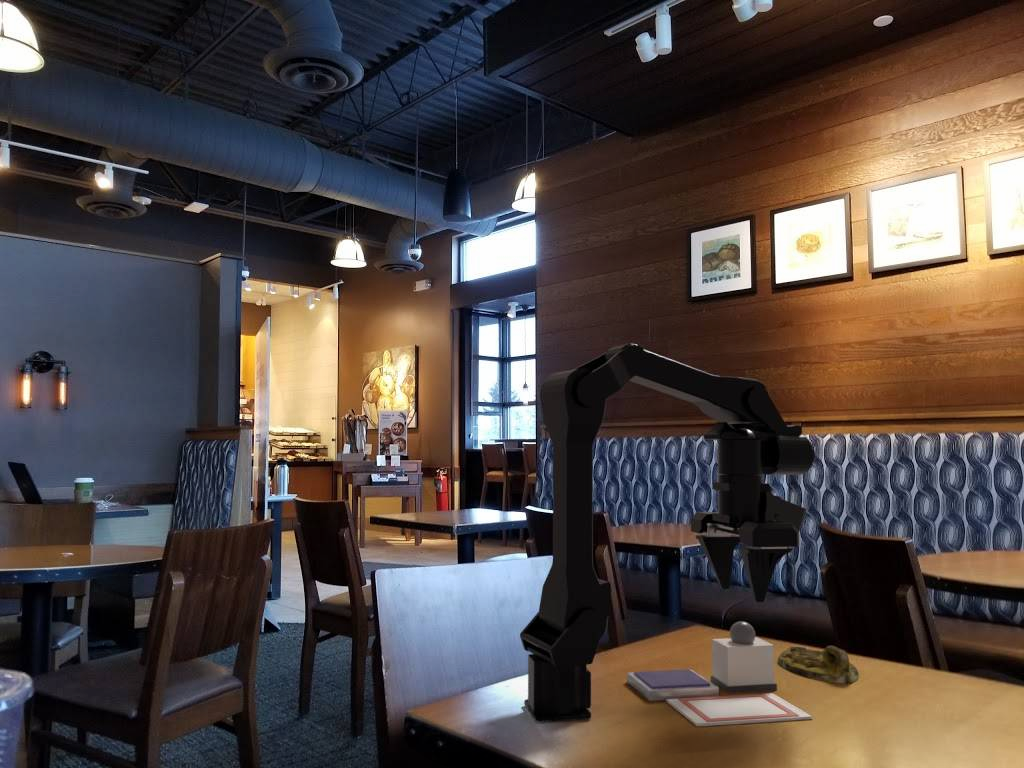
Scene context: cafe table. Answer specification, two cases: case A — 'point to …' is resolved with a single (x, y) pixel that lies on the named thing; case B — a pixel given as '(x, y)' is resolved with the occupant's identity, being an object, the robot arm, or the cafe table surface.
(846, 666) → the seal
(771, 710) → the sheet
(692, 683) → the ink pad
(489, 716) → the cafe table surface
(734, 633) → the stamp
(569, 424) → the robot arm
